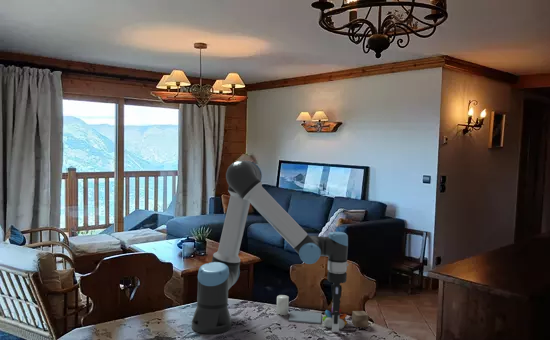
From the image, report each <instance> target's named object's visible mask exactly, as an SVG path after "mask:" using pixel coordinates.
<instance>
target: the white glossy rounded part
mask: <svg viewBox="0 0 550 340" xmlns="http://www.w3.org/2000/svg"><path fill="white" fill-rule="evenodd" d="M289 299H290V297H289V296H288V295H285V294H279V295H277V296H276V313H277V314H276V315H278V314H280V315H279V316H282V315H284V316H288V315H287V314H289Z"/></svg>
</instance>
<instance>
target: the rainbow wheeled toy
mask: <svg viewBox="0 0 550 340" xmlns="http://www.w3.org/2000/svg"><path fill="white" fill-rule="evenodd" d="M341 312H342V308H340V312H339V313H340V315H339V330H342V329H344V328H345V326H346V325H347V324H348V321H347V320H346V318H347V316H348V315H347V313H341ZM324 313H325V315H324V316H323V317H322V321H323V324H324V327H326V328H329V329H332V315H331V313H333V307H332V306H331V311H330V310H328V309H326V310H325V311H324Z"/></svg>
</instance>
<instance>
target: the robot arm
mask: <svg viewBox="0 0 550 340" xmlns="http://www.w3.org/2000/svg"><path fill="white" fill-rule="evenodd" d="M262 178H263V174H262V169H261V167H259V166H258V165H257V164H256V163H255V162H252V161H250V160H236V161H234V162H232V163H231V164H230V165H229V166H228V167H227V170H226V172H225V179H226V182H227V185H228V187H227V188H228V189H227V191H228V193H229V195H230V196H229V200H228V205H227V210H226V213H225V219H224V221H223V227H222V232H221V236H220V239H219V243H218V249H217V251H216V252H214V253H213V254H212V259H211V262H208V263H204V264H202V265H200V266H199V268H198V273H197V294H196V295H197V297H196V308H195V310H194V311H195V312H194V315H193V317H192V319H191V328H192V329H191V330H193V331H194V332H197V333H201V334H205V335H207V334H208V335H215V334H222V333H225V332H228V331H230V329H232V318H231V314H230V311H229V307H228V306H229V304H228V303H229V300H228V299H229V290H230V289H231V288H232V286H234V285H235V284H236V283H237V281H238V280H239V277H240V273H241V272H240V271H241V270H240V265H241V258H240V256H239V253H240V248H241V244H242V239H243V236H244V231H245V227H246V223H247V219H248V214H249V210H250V205H251V206H252V207H253V208H254V209H255V210H256V211H257V212H258V213H259V214H260V215H261V217H262V218H264V219H265V220H266V221H267V222H268V223H269V224H270V225H271V227H272V228H273V229H274V230H275V231H276V232H277V233H278V234H279V235H280V236H281V237H282V238H283V239H284V240H285V241H286V242H287V244H289V245H290V246H291V247H292V249H293V250H294V251H295V252H296V253H297V254H298V255H299V258H300V260H301V261H302V262H303V263H305V264H306V265H312V264H316V263H317V262H318V261H319V259H320V257H321V256H325V257H327V281H328V283H333V284H331V298H332V302H331V308H332V307H333V313H332V312H331V315H332V327H331V332H333V333H334V332H335V333H339V332H340V329H339V315H340V314H341V312H340V309H341V308H340V307H341V305H340V304H341V298H342V290H343V289H342V288H343V287H342V285H341V284H345V283H346V282H347V274H348V273H347V270H348V267H349V263H348V253H349V251H348V249H349V235H348V234H347V233H345V232H344V231H343V232H342V231H330V232H329V234H328V236H318V235H309V234H308V233H307V231H306V230H304V228H302V226H301V225H299V224H298V222H296V220H294V218H293V217H292V216H291V215H290V214H289V213H288V212H287V211H286V210H285V209H284V208H283V207H282V206H281V205H280V204H279V203H278V202H277V200H276V199H275V198H273V196H272V195H271V194H270V193H269V192H268V191H267V190H266V189H265V188H264V187H263V185H262V183H263V182H262ZM339 312H340V313H339Z"/></svg>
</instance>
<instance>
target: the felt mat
mask: <svg viewBox="0 0 550 340" xmlns="http://www.w3.org/2000/svg"><path fill="white" fill-rule="evenodd" d="M322 315H323V314H322V312H311V311H310V312H309V311H299V310H290V313H289V316H288V322H291V321H293V322H294V323H303V324H304V323H305V324H314V325H316V324H317V325H321V324H322Z"/></svg>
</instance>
